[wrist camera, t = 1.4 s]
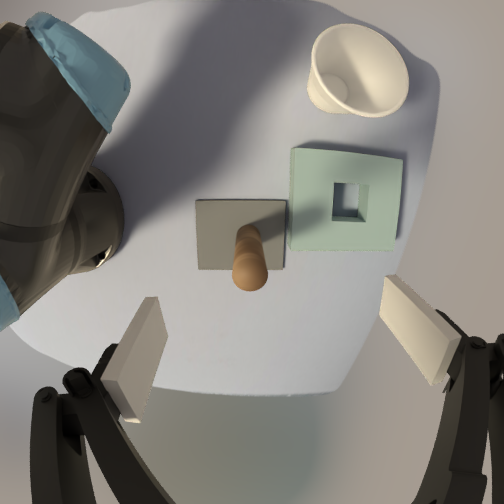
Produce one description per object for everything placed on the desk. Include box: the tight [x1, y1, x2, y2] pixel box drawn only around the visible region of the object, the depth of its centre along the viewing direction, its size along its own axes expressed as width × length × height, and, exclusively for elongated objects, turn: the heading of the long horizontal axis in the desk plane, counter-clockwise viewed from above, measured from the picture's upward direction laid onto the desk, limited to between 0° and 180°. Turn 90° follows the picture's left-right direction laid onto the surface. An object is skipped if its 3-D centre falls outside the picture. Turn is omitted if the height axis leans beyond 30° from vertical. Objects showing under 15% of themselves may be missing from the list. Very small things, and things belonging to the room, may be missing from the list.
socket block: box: [287, 148, 403, 251], centre depth 32 cm, size 14×12×3 cm
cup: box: [307, 23, 409, 118], centre depth 24 cm, size 10×10×11 cm
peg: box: [232, 225, 268, 291], centre depth 29 cm, size 3×3×12 cm
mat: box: [195, 200, 286, 270], centre depth 35 cm, size 11×9×1 cm
